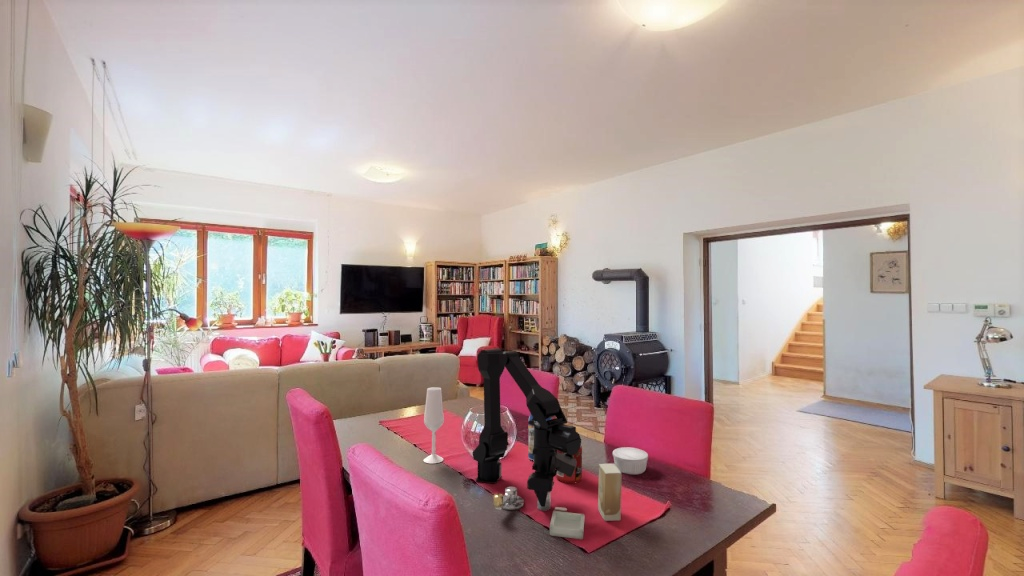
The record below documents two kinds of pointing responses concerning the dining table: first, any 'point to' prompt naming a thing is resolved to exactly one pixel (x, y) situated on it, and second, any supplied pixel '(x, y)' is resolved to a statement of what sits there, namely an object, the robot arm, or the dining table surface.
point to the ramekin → (630, 460)
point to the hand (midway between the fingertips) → (543, 502)
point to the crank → (505, 498)
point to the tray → (567, 525)
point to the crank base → (515, 504)
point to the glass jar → (548, 503)
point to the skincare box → (609, 492)
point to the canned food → (577, 472)
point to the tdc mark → (560, 508)
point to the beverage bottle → (532, 438)
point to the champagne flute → (433, 418)
